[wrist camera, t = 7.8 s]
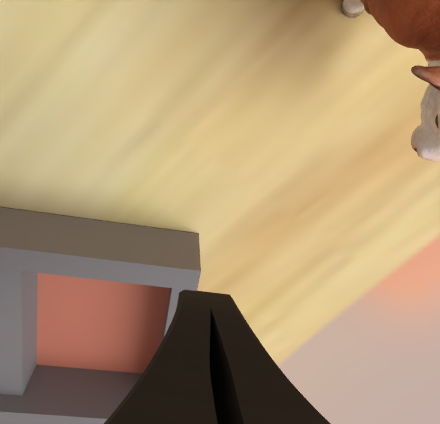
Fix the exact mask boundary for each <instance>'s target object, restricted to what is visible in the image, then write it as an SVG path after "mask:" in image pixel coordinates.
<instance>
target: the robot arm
mask: <svg viewBox="0 0 440 424" xmlns="http://www.w3.org/2000/svg"><path fill="white" fill-rule="evenodd" d="M104 424H330V423H329V422H328V421H327V420H326V419H325V418H324V417H323V416H322V415H321V414H320V413H319V412H318V411H317V410H316V409H315V408H314V407H313V406H312V405H311V404H310V403H309V402H308V401H307V400H306V398H304V397H303V395H302V394H301V393H300V392H299V391H298V390H297V389H296V388H295V387H294V385H293V384H292V383H291V382H290V381H289V380H288V379H287V377H286V376H285V375H284V374H283V372H282V371H281V370H280V369H279V367H278V366H277V365H276V363H275V362H274V361H273V359H272V358H271V357H270V355H269V354H268V353H267V351H266V350H265V348H264V347H263V346H262V344H261V343H260V341H259V340H258V338H257V337H256V336H255V334H254V333H253V331H252V329H251V328H250V326H249V325H248V323H247V322H246V320H245V319H244V317H243V315H242V314H241V312H240V310H239V309H238V307H237V305H236V304H235V302H234V300H233V299H232V297H231V296H230V295H228V294H219V293H211V292H202V291H193V290H183V291H181V292H179V297H178V302H177V308H176V312H175V314H174V317H173V319H172V322H171V324H170V326H169V328H168V330H167V332H166V334H165V337H164V339H163V340H162V342H161V344H160V346H159V347H158V349H157V351H156V353H155V354H154V356H153V358H152V359H151V361H150V363H149V364H148V366H147V368H146V369H145V371H144V372H143V374H142V375H141V377H140V378H139V379H138V381H137V382H136V384H135V385H134V386H133V388H132V389H131V391H130V392H129V393H128V395H127V396H126V397H125V398H124V400H123V401H122V402H121V403H120V405H119V406H118V407H117V408H116V410H115V411H114V412H113V413H112V414H111V416H110V417H109V418H108V419H107V420H106V422H105V423H104Z"/></svg>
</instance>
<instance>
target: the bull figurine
mask: <svg viewBox="0 0 440 424" xmlns="http://www.w3.org/2000/svg"><path fill="white" fill-rule="evenodd" d="M364 8H365V10H366V11H367V12H368V13H369V14H371V15H372V16H373V17H374V18H375V20H376V21H377V22H378V24H379V25H380V26H382V27H383V28H384V29H385V31H386V32H387V33H388V35H389V36H390V37H391V38H392V39H393V40H394V41H396V42H397V43H399V44H401V45H403V46H405V47H409V48H414V49H419V50H420V51H421V52H422V53H423V54H424V56H425V59H426V61H427V62H428V67H423V66H414V67H412V69H411V71H412V73H413V74H414V75H415V76H417V77H418V78H420V79H422V80H424V81H426V82H428V83H430V85H429V86H428V87H427V89H426V91H425V93H424V96H423V99H422V102H421V125H420V126H418V127H417V128H416V129H415V130H414V132H413V134H412V138H411V145H412V148H413V149H414V150H415V151H416V152H417V154H418V156H419V157H421V158H424V159H427V160H431V161H440V0H343V3H342V10H343V13H344V14H345V15H346V16H348V17H354V18H355V17H357V16H359V15H360V14H361V13H362V11H363V10H364Z"/></svg>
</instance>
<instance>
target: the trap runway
mask: <svg viewBox="0 0 440 424" xmlns="http://www.w3.org/2000/svg"><path fill="white" fill-rule="evenodd" d="M200 272H201V268H200V248H199V234H198V233H191V232H183V231H176V230H168V229H161V228H153V227H146V226H138V225H131V224H123V223H116V222H109V221H101V220H94V219H86V218H79V217H71V216H64V215H56V214H49V213H41V212H34V211H26V210H19V209H11V208H4V207H0V424H104V423H105V422H106V420H107V419H108V418H109V417H110V416H111V414H112V413H113V412H114V411H115V410H116V408H117V407H118V406H119V405H120V403H121V402H122V401H123V400H124V398H125V397H126V396H127V395H128V393H129V392H130V391H131V389H132V388H133V386H134V385H135V384H136V382H137V381H138V379H139V378H140V377H141V375H142V374H143V372H144V371H145V369H146V368H147V366H148V364H149V363H150V361H151V359H152V358H153V356H154V354H155V353H156V351H157V349H158V347H159V346H160V344H161V342H162V340H163V339H164V337H165V334H166V332H167V330H168V328H169V326H170V324H171V322H172V319H173V317H174V314H175V312H176V308H177V302H178V297H179V292H181V291H183V290H193V291H197V288H198V282H199V277H200Z"/></svg>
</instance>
